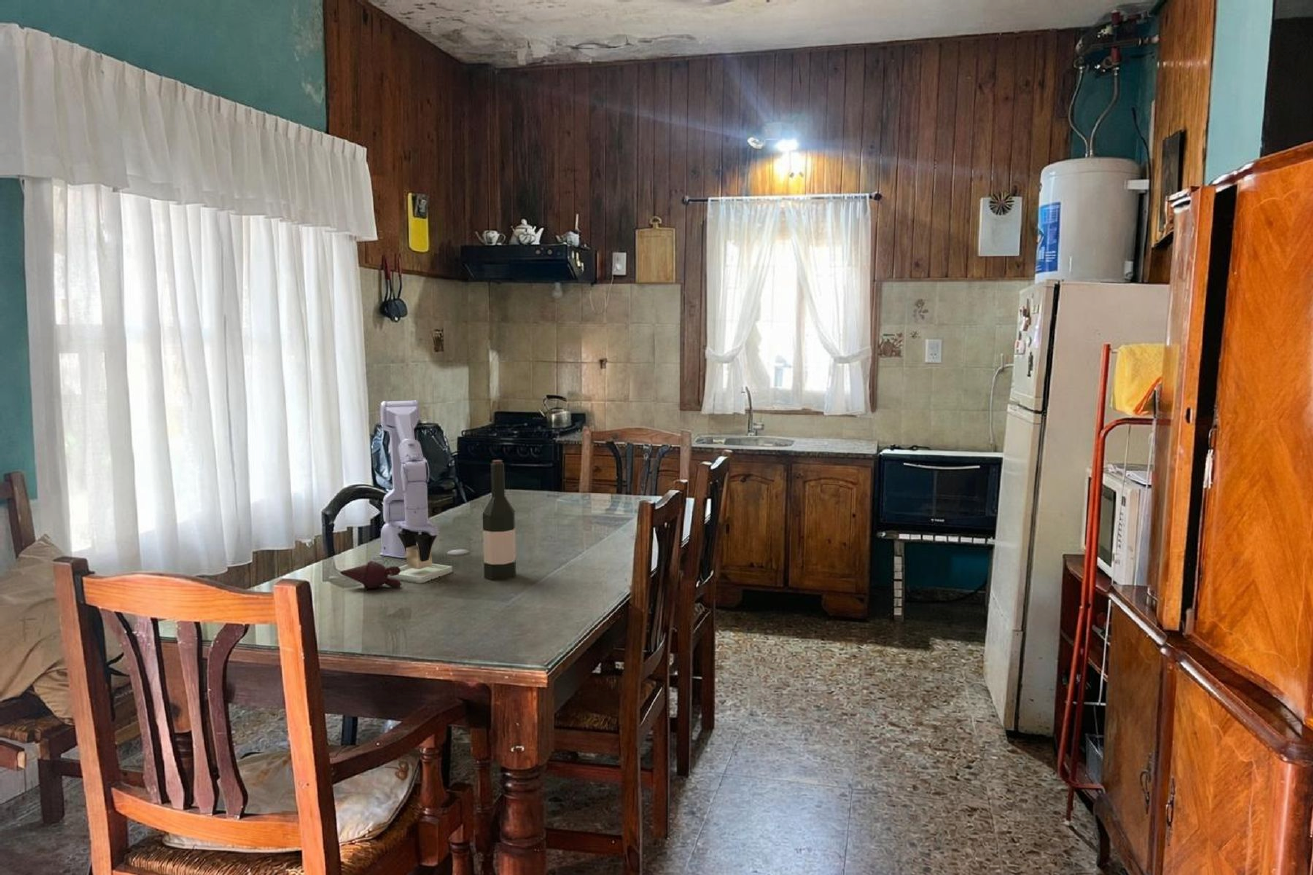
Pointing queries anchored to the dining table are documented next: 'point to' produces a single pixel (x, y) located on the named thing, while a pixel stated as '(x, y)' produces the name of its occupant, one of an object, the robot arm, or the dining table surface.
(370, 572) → the icecream
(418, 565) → the block
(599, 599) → the dining table surface
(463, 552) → the pad
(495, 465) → the wine bottle
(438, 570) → the tray
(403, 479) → the robot arm
